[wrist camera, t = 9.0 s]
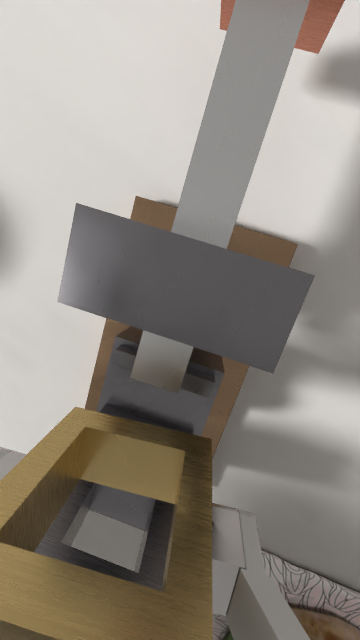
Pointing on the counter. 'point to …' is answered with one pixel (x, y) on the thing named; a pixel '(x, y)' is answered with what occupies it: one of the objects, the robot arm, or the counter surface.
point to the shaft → (234, 137)
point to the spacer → (91, 586)
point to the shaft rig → (176, 324)
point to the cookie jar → (308, 603)
